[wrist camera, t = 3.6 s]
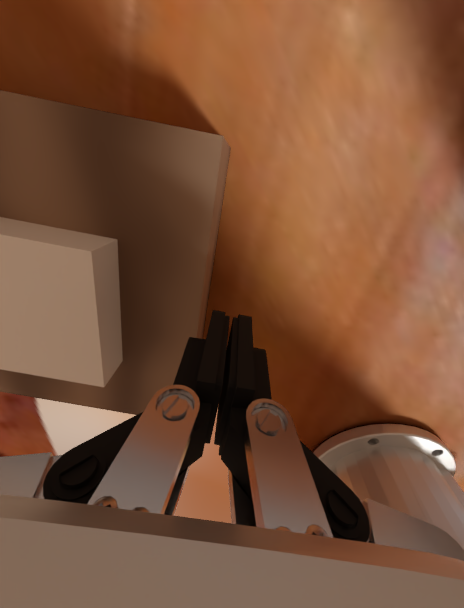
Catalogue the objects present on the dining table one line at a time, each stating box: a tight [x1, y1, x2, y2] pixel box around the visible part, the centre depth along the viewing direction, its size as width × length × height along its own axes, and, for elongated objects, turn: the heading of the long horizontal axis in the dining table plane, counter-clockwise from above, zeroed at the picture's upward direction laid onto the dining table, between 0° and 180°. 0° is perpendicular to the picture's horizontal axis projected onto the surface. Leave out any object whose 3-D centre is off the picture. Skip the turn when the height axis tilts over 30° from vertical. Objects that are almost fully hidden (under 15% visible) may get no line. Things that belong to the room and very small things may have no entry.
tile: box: [0, 217, 123, 387], centre depth 11 cm, size 8×7×2 cm
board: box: [0, 90, 231, 415], centre depth 14 cm, size 20×16×4 cm
